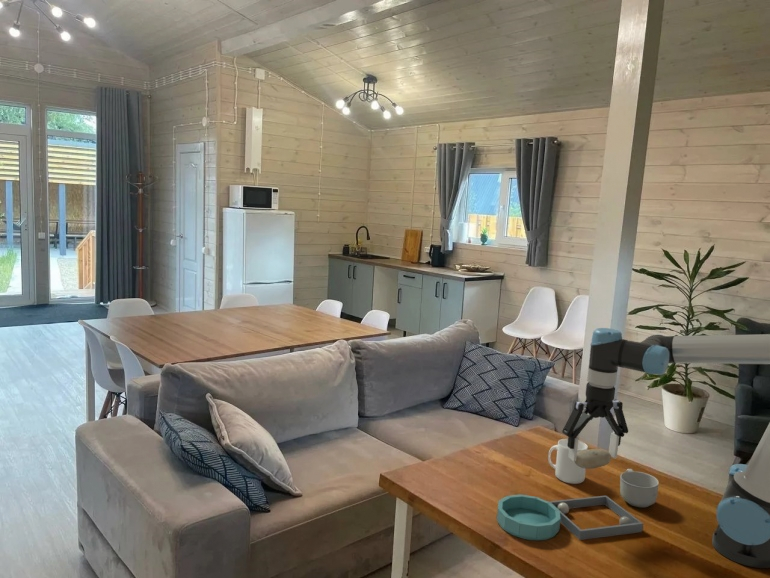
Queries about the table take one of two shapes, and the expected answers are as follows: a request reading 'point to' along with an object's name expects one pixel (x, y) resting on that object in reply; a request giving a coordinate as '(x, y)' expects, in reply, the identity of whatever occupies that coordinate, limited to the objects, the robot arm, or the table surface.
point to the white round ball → (563, 508)
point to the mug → (567, 463)
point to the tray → (601, 531)
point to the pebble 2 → (624, 520)
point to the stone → (592, 458)
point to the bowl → (528, 517)
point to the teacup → (638, 488)
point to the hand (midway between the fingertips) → (592, 457)
